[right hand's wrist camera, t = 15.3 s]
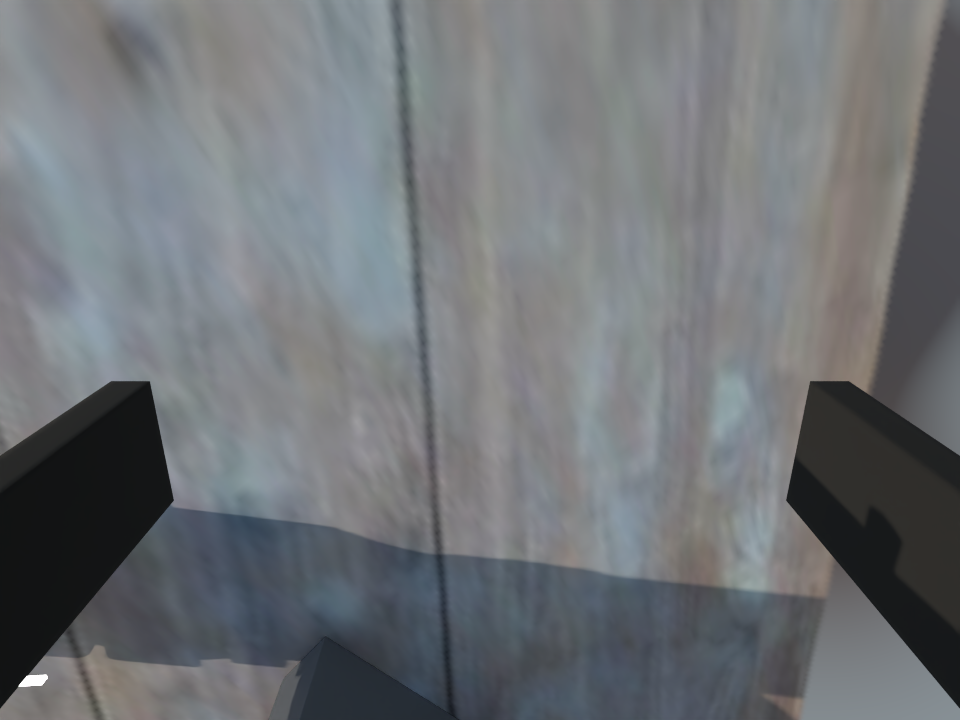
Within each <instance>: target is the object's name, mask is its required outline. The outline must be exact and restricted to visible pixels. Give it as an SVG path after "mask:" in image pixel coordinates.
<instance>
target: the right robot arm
mask: <svg viewBox="0 0 960 720" xmlns="http://www.w3.org/2000/svg"><path fill="white" fill-rule="evenodd" d="M173 501H174V499H173V494H172V489H171V484H170V479H169V474H168V469H167V464H166V459H165V455H164V450H163V445H162V440H161V435H160V430H159V425H158V420H157V415H156V410H155V405H154V400H153V395H152V390H151V385H150V381H111V382H109V383H108V384H107V385H105V386H104V387H102V388H101V389H99V390H98V391H96V392H95V393H93V394H92V395H90V396H89V397H87V398H86V399H84V400H83V401H81V402H80V403H78V404H77V405H75V406H74V407H72V408H71V409H69V410H68V411H66V412H65V413H63V414H62V415H60V416H59V417H57V418H56V419H54V420H53V421H51V422H50V423H48V424H47V425H45V426H44V427H42V428H41V429H39V430H38V431H37V432H35V433H34V434H32V435H31V436H29V437H28V438H26V439H25V440H23V441H22V442H20V443H19V444H17V445H16V446H14V447H13V448H11V449H10V450H8V451H7V452H5V453H4V454H2V455H1V456H0V708H1V707H2V706H3V704H4V703H5V702H6V701H7V700H8V698H9V697H10V696H11V695H12V694H13V692H14V691H15V690H16V689H17V688H18V686H19V685H20V684H21V683H22V682H23V680H24V679H25V678H26V677H27V676H28V674H29V673H30V672H31V671H32V670H33V668H34V667H35V666H36V665H37V664H38V662H39V661H40V660H41V659H42V658H43V657H44V655H45V654H46V653H47V652H48V651H49V649H50V648H51V647H52V646H53V645H54V643H55V642H56V641H57V640H58V639H59V637H60V636H61V635H62V634H63V633H64V631H65V630H66V629H67V628H68V627H69V625H70V624H71V623H72V622H73V621H74V619H75V618H76V617H77V616H78V615H79V613H80V612H81V611H82V610H83V609H84V607H85V606H86V605H87V604H88V603H89V601H90V600H91V599H92V598H93V597H94V595H95V594H96V593H97V592H98V591H99V589H100V588H101V587H102V586H103V585H104V583H105V582H106V581H107V580H108V579H109V577H110V576H111V575H112V574H113V573H114V571H115V570H116V569H117V568H118V567H119V565H120V564H121V563H122V562H123V561H124V559H125V558H126V557H127V556H128V555H129V554H130V552H131V551H132V550H133V549H134V548H135V546H136V545H137V544H138V543H139V542H140V540H141V539H142V538H143V537H144V536H145V534H146V533H147V532H148V531H149V530H150V528H151V527H152V526H153V525H154V524H155V522H156V521H157V520H158V519H159V518H160V516H161V515H162V514H163V513H164V512H165V510H166V509H167V508H168V507H169V506H170V504H171V503H172V502H173ZM786 501H787V502H788V503H789V504H790V506H791V507H792V508H793V509H794V510H795V512H796V513H797V514H798V515H799V516H800V518H801V519H802V520H803V521H804V522H805V524H806V525H807V526H808V527H809V528H810V530H811V531H812V532H813V533H814V534H815V536H816V537H817V538H818V539H819V540H820V542H821V543H822V544H823V545H824V546H825V548H826V549H827V550H828V551H829V552H830V554H831V555H832V556H833V557H834V558H835V559H836V561H837V562H838V563H839V564H840V565H841V567H842V568H843V569H844V570H845V571H846V573H847V574H848V575H849V576H850V577H851V579H852V580H853V581H854V582H855V583H856V585H857V586H858V587H859V588H860V589H861V591H862V592H863V593H864V594H865V595H866V597H867V598H868V599H869V600H870V601H871V603H872V604H873V605H874V606H875V607H876V609H877V610H878V611H879V612H880V613H881V615H882V616H883V617H884V618H885V619H886V621H887V622H888V623H889V624H890V625H891V627H892V628H893V629H894V630H895V631H896V632H897V634H898V635H899V636H900V637H901V639H902V640H903V641H904V642H905V643H906V645H907V646H908V647H909V648H910V649H911V651H912V652H913V653H914V654H915V655H916V656H917V658H918V659H919V660H920V661H921V662H922V664H923V665H924V666H925V667H926V668H927V670H928V671H929V672H930V673H931V674H932V676H933V677H934V678H935V679H936V680H937V682H938V683H939V684H940V685H941V686H942V688H943V689H944V690H945V691H946V692H947V694H948V695H949V696H950V697H951V698H952V700H953V701H954V702H955V703H956V704H957V706H958V707H959V708H960V456H959V455H958V454H956V453H955V452H953V451H952V450H950V449H949V448H947V447H946V446H944V445H943V444H941V443H940V442H938V441H937V440H935V439H934V438H932V437H931V436H929V435H928V434H926V433H925V432H923V431H922V430H921V429H919V428H918V427H916V426H915V425H913V424H912V423H910V422H909V421H907V420H906V419H904V418H903V417H901V416H900V415H898V414H897V413H895V412H894V411H892V410H891V409H889V408H888V407H886V406H885V405H883V404H882V403H880V402H879V401H877V400H876V399H874V398H873V397H871V396H870V395H868V394H867V393H865V392H864V391H862V390H861V389H859V388H858V387H856V386H855V385H853V384H852V383H851V382H849V381H810V385H809V390H808V395H807V400H806V405H805V410H804V415H803V420H802V425H801V430H800V435H799V440H798V445H797V450H796V455H795V459H794V464H793V469H792V474H791V479H790V484H789V489H788V494H787V499H786Z"/></svg>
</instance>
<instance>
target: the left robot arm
mask: <svg viewBox="0 0 960 720" xmlns="http://www.w3.org/2000/svg"><path fill="white" fill-rule="evenodd" d="M46 679H47V675H37V676H27V677H26V678H25V679H24V680H23V682H22V683H21V684H20V685H19V686H34V685H42V684H43V683H44V682H45V680H46Z"/></svg>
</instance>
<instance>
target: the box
mask: <svg viewBox="0 0 960 720" xmlns="http://www.w3.org/2000/svg"><path fill="white" fill-rule="evenodd" d="M269 720H458V719H457V718H455V717H453V716H452V715H450V714H449V713H447V712H445V711H444V710H442V709H441V708H439V707H437V706H436V705H434V704H433V703H431V702H429V701H428V700H426V699H425V698H423V697H421V696H420V695H418V694H417V693H415V692H413V691H412V690H410V689H409V688H407V687H405V686H404V685H402V684H401V683H399V682H397V681H396V680H394V679H393V678H391V677H389V676H388V675H386V674H385V673H383V672H381V671H380V670H378V669H377V668H375V667H373V666H372V665H370V664H369V663H367V662H365V661H364V660H362V659H361V658H359V657H357V656H356V655H354V654H353V653H351V652H349V651H348V650H346V649H345V648H343V647H341V646H340V645H338V644H337V643H335V642H333V641H332V640H330V639H329V638H327V637H324V638H323V639H322V640H321V641H320V642H319V643H318V644H317V645H316V646H315V647H314V648H313V649H312V651H311V652H310V653H309V654H308V655H307V656H306V657H305V658H304V659H303V660H302V661H301V662H300V663H299V664H298V665H297V666H296V667H295V668H294V669H293V670H292V671H291V672H290V673H289V674H288V675H287V676H286V677H285V678H284V679H283V681H282V684H281V686H280V689H279V692H278V695H277V698H276V700H275V703H274V706H273V709H272V711H271V714H270V717H269Z"/></svg>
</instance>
